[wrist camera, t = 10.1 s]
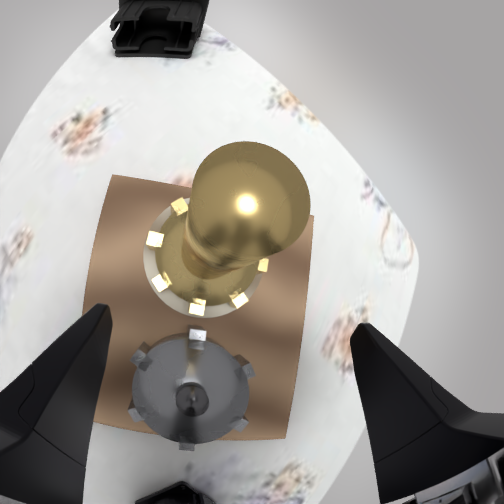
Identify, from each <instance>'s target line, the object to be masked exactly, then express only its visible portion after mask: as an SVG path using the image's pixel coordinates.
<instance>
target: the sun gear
mask: <svg viewBox="0 0 504 504" xmlns="http://www.w3.org/2000/svg"><path fill="white" fill-rule="evenodd" d="M130 361H131V362H132V363H133V364H135V365H136V366H137V369H136V372H135V374H134V378H133V383H132V396H133V397H132V399H131V402H130V405H129V407H128V412H129V414H130V416H131V417H132V419H133V421H134V422H139V421H142V420H143V421H144V422H145V423H146V424H147V425H148V426H149V427H150V428H151V429H152V430H153V431H155V432H156V433H158V434H159V435H161V436H163V437H165V438H167V439H169V440H172V441H175V442H179V450H189V451H194V446H195V444H199V443H206V442H210V441H213V440H216V439H218V438H220V437H222V436H224V435H226V434H227V433H229V432H230V431H231V430H232V429H235V430H237V431H239V432H242V430H243V429H244V428H245V427H246V426H247V424H248V423H249V421H248V420H247V418H246V417H245V415H244V414H245V412H246V409H247V406H248V402H249V385H248V379H250V378H252V377H254V376H256V374H255V372H254V370H253V368H252V365H251V363H250V362H249V361H248V360H246V359H245V358H244V357H243V356H241V355H240V354H238V355H236V356H234V357H233V356H232V355H231V354H230V353H229V352H228V351H227V350H226V349H225V348H224V347H223V346H221V345H220V344H219V343H217V342H216V341H214V340H213V339H211V338H208V337H206V330H205V329H204V328H203V327H202V326H197V325H190V324H188V327H187V333H178V334H172V335H169V336H166V337H164V338H162V339H160V340H158V341H157V342H155V343H154V344H153V345H152V346H151V347H150V346H149V345H148V344H146V343H145V342H144V341H143V342H142V344H141V345H140V346H139V348H138V349H137V350H136V352H135V353H134V355H133V356H132V358H131V359H130Z"/></svg>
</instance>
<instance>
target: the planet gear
mask: <svg viewBox="0 0 504 504" xmlns="http://www.w3.org/2000/svg"><path fill="white" fill-rule="evenodd" d="M171 214H172V215H170V216H169V218H168V219H167V220H166V221H165V223H164V224H163V226H162V227H161V229H160V231H159V233H156V232H152V231H149V235H148V238H147V242H146V245H147V247H148V249H149V250H153V251H155V260H156V265H157V269H158V271H159V274H160V275H158V276H157V277H155V278H154V279H152V281H153V283H154V284H155V286H156V288H157V289H158V291H159V292H162V291H164V290H165V289H167V288H169V289H170V290H171V291H172V292H173V293H174V294H175V295H176V296H178V297H179V298H181V299H183V300H185V301H187V302H189V307H188V312H189V313H192V314H197V315H202V316H203V313H204V307H205V306H216V305H221V304H225V303H227V302H228V303H229V305H230V306H231V307H233V308H239V307H240V306H242V305H243V304H244V303H246V302H247V301H248V299H247V298H246V296H245V295H244V292H245V290H246V289H247V288H248V287H249V286H250V284H251V283H252V282H253V280H254V278H255V276H256V274H261V273H265V272H267V267H268V261H269V259H266V257H269V256H271V255H273V254H276V253H278V252H280V251H283V250H284V249H286V248H288V247H289V246H291V245H292V244H293V243H294V242H295V241H296V240H297V239H298V238H299V237H300V235H301V234H302V232H303V231H304V229H305V227H306V225H307V222H308V219H309V214H310V195H309V190H308V187H307V184H306V182H305V179H304V177H303V175H302V174H301V172H300V171H299V169H298V168H297V167H296V165H295V164H294V163H293V162H292V161H291V160H290V159H289V158H288V157H286V156H285V155H284V154H283V153H281V152H280V151H278V150H276V149H274V148H272V147H270V146H267V145H265V144H261V143H257V142H245V141H243V142H234V143H230V144H227V145H224V146H222V147H220V148H218V149H216V150H215V151H213V152H212V153H210V154H209V155H208V156H207V157H206V158H205V159H204V160H203V162H202V163H201V164H200V166H199V168H198V170H197V172H196V174H195V177H194V181H193V185H192V190H191V195H190V201H189V204H186V203H185V201H184V199H183V198H182V197H181V198H180V199H178V200H176V201H174V202H172V203H171Z"/></svg>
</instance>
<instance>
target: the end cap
mask: <svg viewBox="0 0 504 504" xmlns="http://www.w3.org/2000/svg"><path fill="white" fill-rule="evenodd" d="M208 4H209V0H119V11H118V12H117V14H116V15H115V16H114V18H113V19H112V20H111V25H110V28H111V31H114V30H115V29H116V28H117V26H118V25H119V23H120V27H119V29H118V30H117V32H116V33H115V35H114V37H113V38H112V40H111V42H112V44H113V48H114V49H115V50H116V51H115V56H116V57H165V58H181V59H188V58H190V57H191V54H192V51H193V47H194V44H195V43H196V39H197V38H198V37H200V35H201V31H202V28H203V24H204V20H205V16H206V12H207V8H208Z"/></svg>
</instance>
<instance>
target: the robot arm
mask: <svg viewBox="0 0 504 504" xmlns="http://www.w3.org/2000/svg"><path fill="white" fill-rule="evenodd" d="M112 327H113V320H112V316H111V311H110V307H109V305H108V304H104V303H97V304H95V305H94V306H93V307H92V308H91V309H90V310H88V311H87V312H86V313H85V314H84V315H83V316H82V317H80V318H79V319H78V320H77V321H76V322H75V323H74V324H73V325H72V326H70V327H69V328H68V329H67V330H66V331H65V332H64V333H63V334H62V335H61V336H60V337H58V338H57V339H56V340H55V341H54V342H53V343H52V344H51V345H50V346H49V347H48V348H47V349H46V350H45V351H44V352H43V353H42V354H41V355H40V356H38V357H37V358H36V359H35V360H34V361H33V362H32V364H30V365H29V366H28V367H27V368H26V369H25V370H24V371H23V372H22V373H21V374H20V375H19V376H18V377H17V378H16V379H15V380H14V381H13V382H11V383H10V384H9V385H8V386H7V387H6V388H4V389H3V390H2V391H1V392H0V504H83V490H84V480H85V471H86V468H85V467H86V462H87V455H88V448H89V442H90V436H91V431H92V425H93V420H94V415H95V410H96V406H97V401H98V397H99V392H100V388H101V384H102V380H103V376H104V372H105V368H106V363H107V357H108V350H109V344H110V338H111V333H112ZM350 346H351V352H352V359H353V365H354V372H355V377H356V382H357V386H358V390H359V394H360V398H361V402H362V407H363V411H364V416H365V420H366V425H367V430H368V435H369V439H370V445H371V450H372V455H373V461H374V467H375V473H376V479H377V485H378V492H379V499H380V504H385V503H389V502H392V501H395V500H398V499H401V498H404V497H407V496H410V495H413V494H414V496H415V497H414V498H412V499H411V500H408V501H406V502H404V503H402V504H504V414H501V413H481V412H477V411H474V410H472V409H470V408H469V407H467V406H466V405H465V404H464V403H462V402H461V401H460V400H458V399H457V398H456V397H454V396H453V395H452V394H451V393H449V392H448V391H447V390H446V389H444V388H443V387H442V386H441V385H440V384H438V383H437V382H436V381H435V380H434V379H433V378H432V377H430V375H428V374H427V373H426V372H425V371H424V370H423V369H422V368H421V367H419V366H418V365H417V364H416V363H415V362H414V361H413V360H412V359H410V358H409V357H408V356H407V355H406V354H405V353H404V352H402V351H401V350H400V349H399V348H398V347H397V346H396V345H394V344H393V343H392V342H391V341H390V340H389V339H387V338H386V337H385V336H384V335H383V334H382V333H381V332H379V331H378V330H377V329H376V328H375V327H374V326H372V325H371V324H370V323H360V324H358V326H357V327H356V329H355V331H354V332H353V334H352V335H351V338H350ZM181 486H184V487H181ZM135 504H216V503H214V502H213V501H212V500H210V499H209V498H207V497H206V496H205V495H203V494H201V493H198V492H197V491H196V490H194V489H193V488H192V487H190V486H189V485H188V484H187V483H185V482H179V483H177V484H175V485H173V486H170V487H168V488H166V489H164V490H162V491H159V492H157V493H155V494H153V495H150V496H148V497H145V498H143V499H140V500H138V501H136V502H135Z"/></svg>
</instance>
